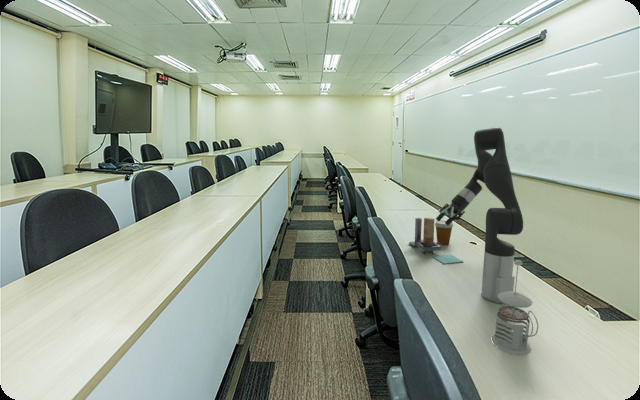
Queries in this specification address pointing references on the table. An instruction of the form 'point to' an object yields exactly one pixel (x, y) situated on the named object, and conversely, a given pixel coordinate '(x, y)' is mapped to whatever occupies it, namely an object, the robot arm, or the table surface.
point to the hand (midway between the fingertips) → (441, 222)
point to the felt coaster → (447, 259)
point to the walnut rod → (428, 234)
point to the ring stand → (419, 241)
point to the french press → (503, 334)
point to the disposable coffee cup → (443, 232)
